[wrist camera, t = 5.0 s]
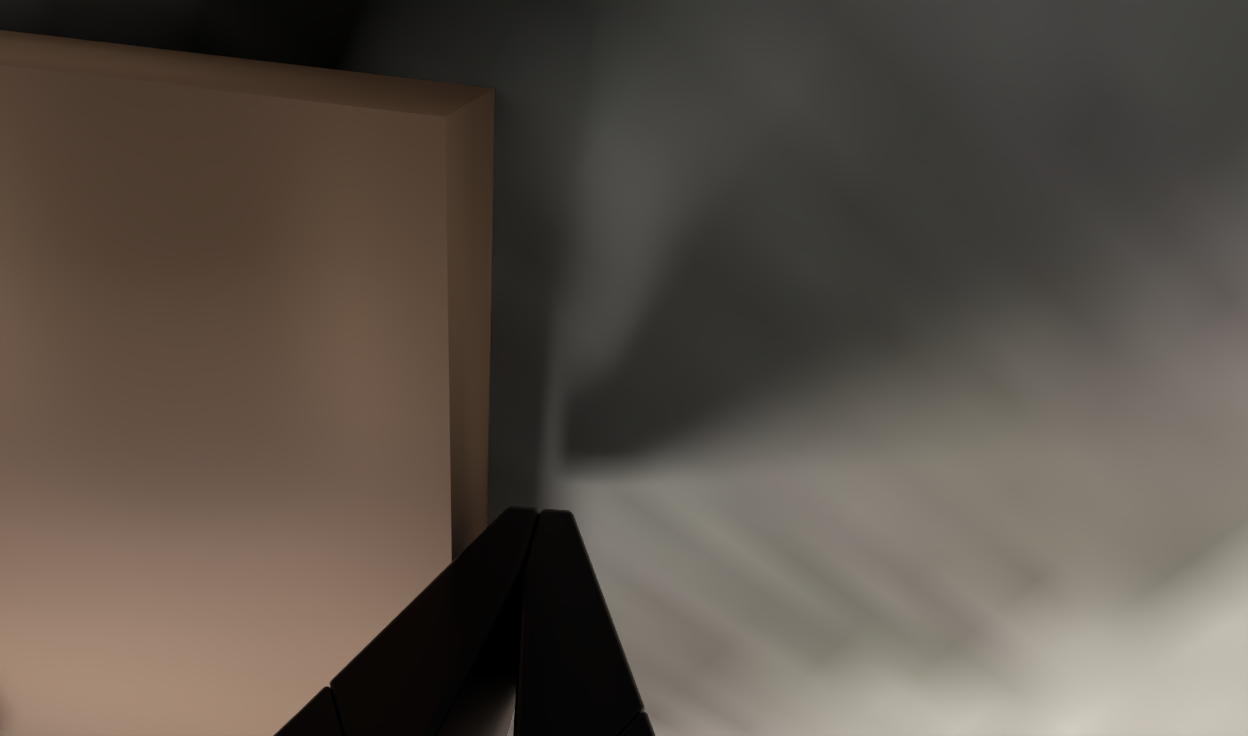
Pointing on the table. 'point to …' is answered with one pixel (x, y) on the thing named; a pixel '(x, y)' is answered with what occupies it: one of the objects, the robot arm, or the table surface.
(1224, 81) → the table surface
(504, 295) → the table surface
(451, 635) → the robot arm
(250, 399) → the tan rectangular slab
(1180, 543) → the table surface
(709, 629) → the table surface
